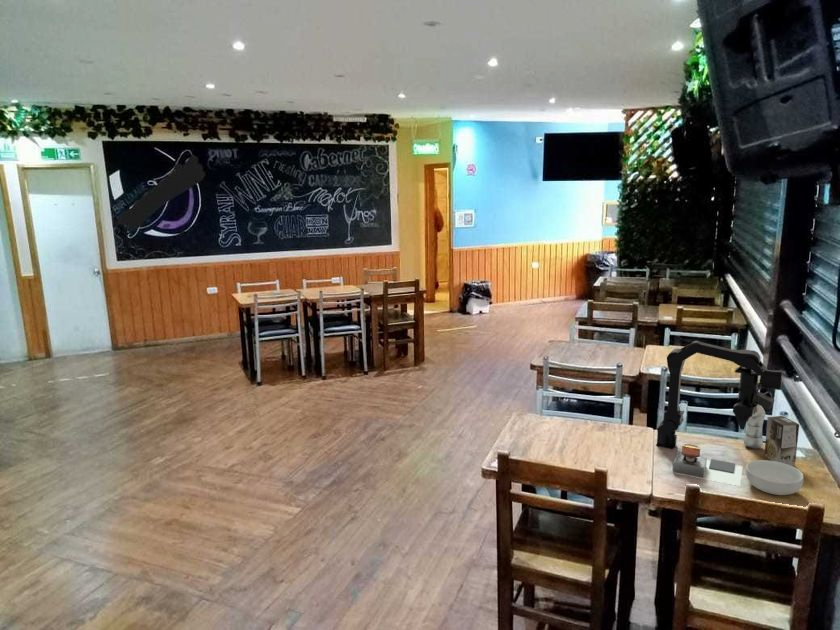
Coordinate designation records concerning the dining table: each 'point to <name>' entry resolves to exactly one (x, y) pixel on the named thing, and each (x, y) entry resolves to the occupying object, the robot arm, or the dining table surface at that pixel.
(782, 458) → the coffee box
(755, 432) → the plastic bottle
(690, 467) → the metal block
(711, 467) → the pad
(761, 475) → the cereal bowl
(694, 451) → the copper disc with stripe
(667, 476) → the dining table surface
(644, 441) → the dining table surface
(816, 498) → the dining table surface
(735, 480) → the board
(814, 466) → the dining table surface
